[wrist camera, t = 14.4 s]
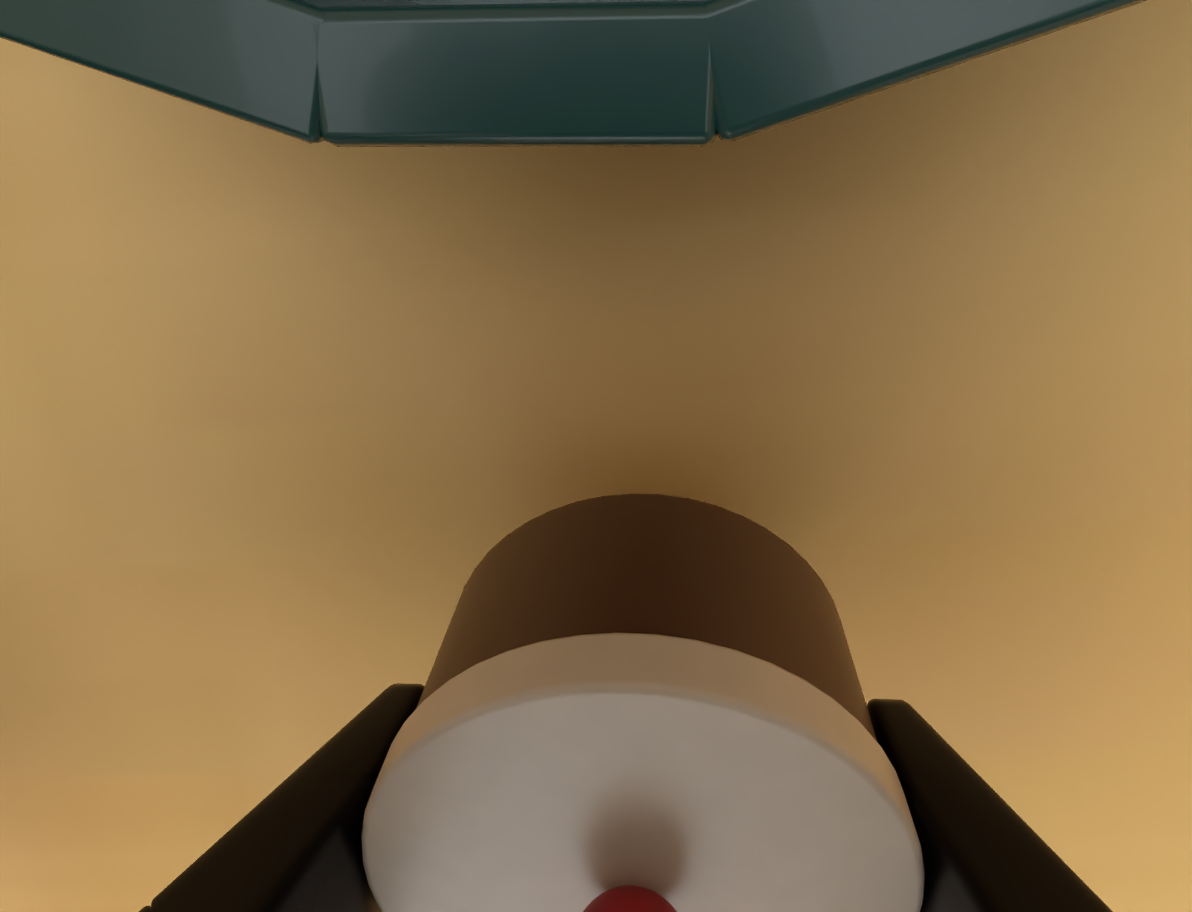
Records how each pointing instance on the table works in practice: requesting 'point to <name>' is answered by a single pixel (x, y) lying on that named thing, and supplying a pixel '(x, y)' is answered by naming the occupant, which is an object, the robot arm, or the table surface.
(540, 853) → the cake
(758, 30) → the pot
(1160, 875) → the table surface
